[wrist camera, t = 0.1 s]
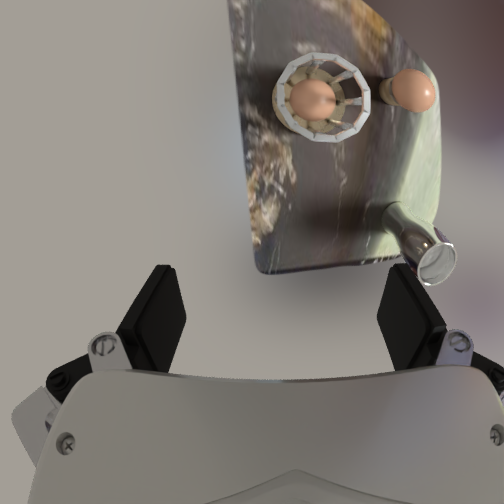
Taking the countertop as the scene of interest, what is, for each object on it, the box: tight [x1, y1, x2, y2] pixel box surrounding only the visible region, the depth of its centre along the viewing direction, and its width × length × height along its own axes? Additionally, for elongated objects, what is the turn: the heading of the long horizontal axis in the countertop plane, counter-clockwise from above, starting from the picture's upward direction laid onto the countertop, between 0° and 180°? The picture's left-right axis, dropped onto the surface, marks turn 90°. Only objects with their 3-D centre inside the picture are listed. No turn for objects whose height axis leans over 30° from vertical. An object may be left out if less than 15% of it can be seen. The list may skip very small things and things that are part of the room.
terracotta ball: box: [392, 69, 435, 112], centre depth 25 cm, size 6×6×6 cm
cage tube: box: [272, 52, 370, 142], centre depth 28 cm, size 10×10×13 cm
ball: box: [289, 78, 336, 122], centre depth 30 cm, size 6×6×6 cm
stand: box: [379, 77, 401, 106], centre depth 29 cm, size 4×4×5 cm
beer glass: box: [381, 202, 457, 286], centre depth 35 cm, size 7×7×15 cm
